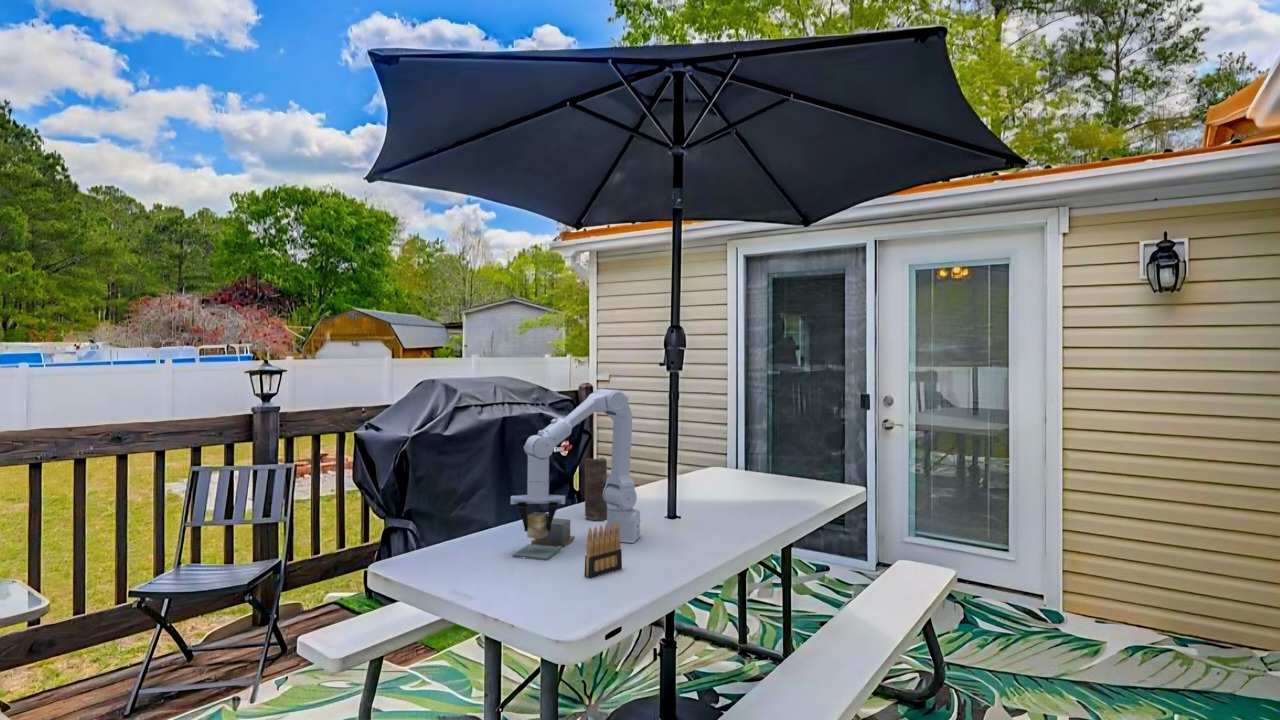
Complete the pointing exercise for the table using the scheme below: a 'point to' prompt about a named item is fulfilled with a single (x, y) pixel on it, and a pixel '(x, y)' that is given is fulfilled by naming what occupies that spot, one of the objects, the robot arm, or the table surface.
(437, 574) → the table surface
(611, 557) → the ammunition clip
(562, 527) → the mounted unit
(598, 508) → the candle
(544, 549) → the mat
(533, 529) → the block
